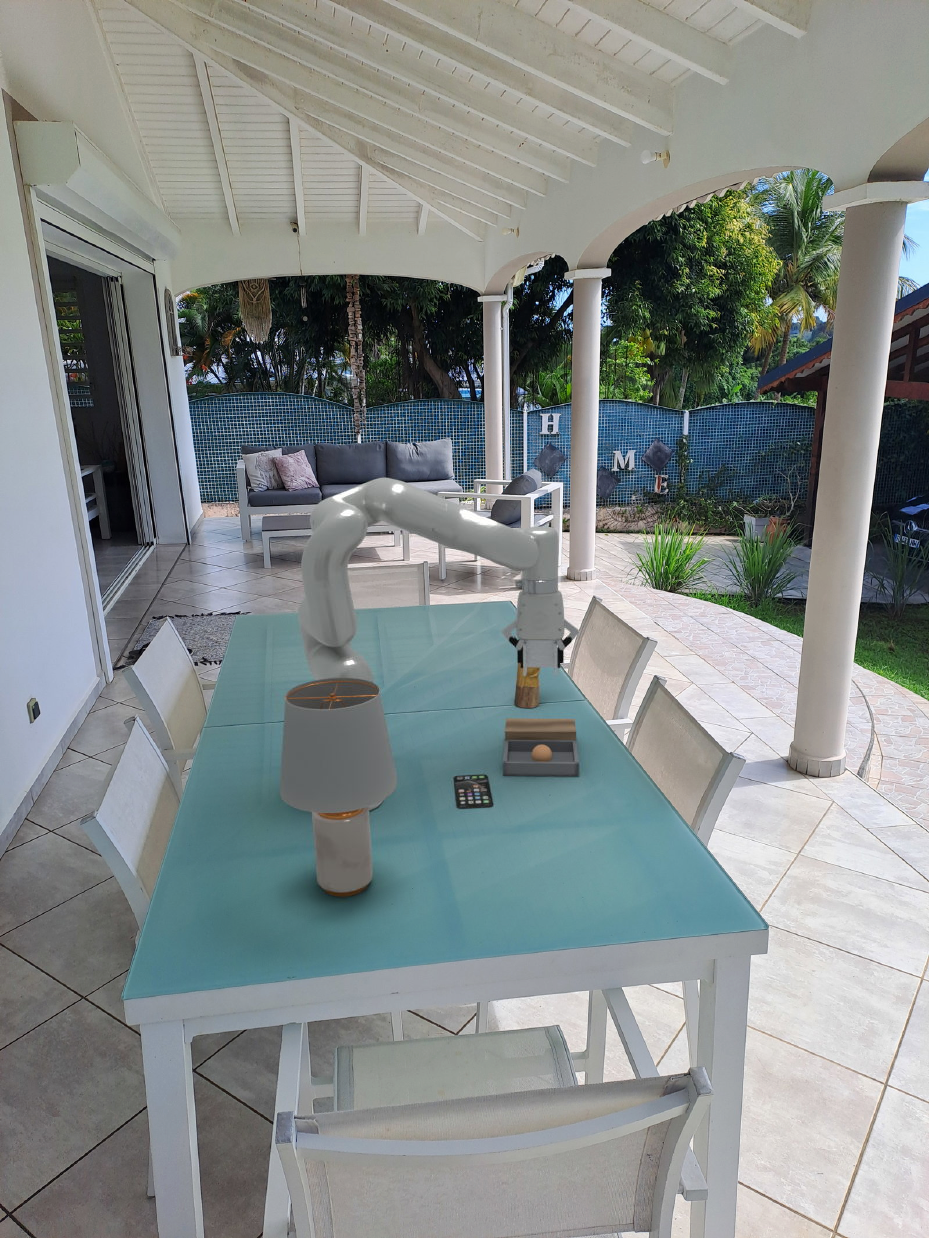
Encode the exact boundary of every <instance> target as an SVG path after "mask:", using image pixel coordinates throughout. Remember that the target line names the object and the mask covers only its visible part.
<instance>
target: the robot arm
mask: <svg viewBox="0 0 929 1238" xmlns="http://www.w3.org/2000/svg"><path fill="white" fill-rule="evenodd" d="M380 522H384V523H387V524H388V525H390V526H394V527H396V528H399V529H401V530H404V531H407V532H409V533H411V534H414V535H416V536H420V537H422V538H424V539H427V540H429V541H431V542H435V543H437V544H440V545H442V546H445V547H448V548H450V549H453V550H457V551H461V552H465V553H467V554H468V553H469V554H471V555H474V556H477V557H479V558H482V559H485V560H487V561H490V562H492V563H494V564H496V565H498V566H501V567H504V568H507V569H510V570H512V571H516V572H521V574H522V575H521V578H520V579H518V580H515V588H520V589H521V591H519V592H518V596H517V604H516V618H515V619H514V620H513V621H512V622H511V623H509V624H508V625H507V626H505V627H504V628H503V629H502V635H503V636H504V637H505V639H507V641H508V643H510V644H511V645H512V646H513V647H514V648H515V649H516V651H517V652H516V653H517V654H516V655H517V657H516V658H517V660H516V661H517V662H516V663H517V664H518V663H521V668H523V642H525V641H526V640H555V642H557V669H561V664H565V663H564V661H565V660H564V659H565V657H564V656H565V655H564V654H565V652H564V650H566V648H567V647H568V646H569V645H570V644H571V643H572V642H573V640H575V638H576V637H577V636H578V634H579V633H580V632H579V629H578V628H577V627H576V626H574V625H573V624H572V623H571V622H569V621H568V620H566V619H565V607H564V598H563V593H562V591H560V590H559V535H558V531H557V530H556V529H555V528H554V527H550V526H531V527H530V526H529V527H527V528H513V527H510V526H507V525H505V524H503V523H500V522H498V521H496V520H493V519H491V518H488V517H486V516H483V515H481V514H479V513H477V512H475V511H473V510H472V509H469V508H467V507H465V506H462V505H460V504H457V502H456V503H455V502H453V501H451V500H449V499H446V498H443V497H441V496H438V495H437V494H434V493H431V492H429V491H426V490H425V489H422V488H419V487H418V486H415V485H413V484H410V483H407V482H405V481H402V480H399V479H394V478H390V477H379V478H376V479H372V480H369V481H367V482H365V483H362V484H360V485H357V486H355V487H352V488H349V489H347V490H345V491H342V492H339V493H337V494H335V495H332V496H330V497H329V496H328V497H327V498H325V499H323V500H320V502H319V503H317V504H316V505H315V506H314V507H313V510H312V511H311V512H310V516H309V524H310V530H312V534H311V536H310V537H309V539H308V541H307V543H306V545H305V547H304V549H303V552H302V556H301V563H300V564H301V565H300V566H301V567H300V568H301V572H300V573H301V580H302V585H303V590H304V597H302V599H301V602H300V604H299V606H298V609H297V621H298V625H299V626H298V627H299V631H300V635H301V641H302V646H303V649H304V654H305V658H306V663H307V665H308V669H309V672H310V674H311V675H312V677H313V678H314V680H321V679H329V678H356V679H362V680H367V681H370V682H372V683H374V681H373V673H372V670H371V667H370V666H369V664H368V662H367V660H366V659H365V658H364V657H363V656H362V655H361V654H359V653H358V651H356V650H354V649H353V648H352V645H351V641H352V640H353V639H354V637H355V635H356V634H357V630H358V619H357V614H356V613H357V612H356V610H355V606H354V601H353V597H352V591H351V586H350V580H349V579H350V578H349V571H348V569H349V568H348V565H349V561H350V558H351V556H352V554H353V553H354V552H355V550H356V549H357V548H358V547H359V546H360V545H361V544H362V543H363V541H364V539H365V538H366V537H367V533H368V529H369V528H370V527H371V526H374V525H376V524H378V523H380ZM565 629H566V630H567V631H568V632H569V634H568V635H567V636H566V637H564V636H565ZM513 630H515V632H516V634H515V635H516V636H514V635H513V634H512V631H513ZM516 637H517V638H516ZM563 638H564V639H563ZM383 802H384V800H382V801H380V802H378V803H376V804H374V805H371V806H369V812H370V811H372V810H374V809H376V808H378V807H379V806H380V805H381V804H382V803H383Z"/></svg>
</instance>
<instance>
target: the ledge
mask: <svg viewBox="0 0 929 1238" xmlns="http://www.w3.org/2000/svg"><path fill="white" fill-rule="evenodd" d="M505 740H576V741H577V728H576V719H575V718H512V717H511V718H505V727H504V741H505Z"/></svg>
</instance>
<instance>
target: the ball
mask: <svg viewBox="0 0 929 1238" xmlns="http://www.w3.org/2000/svg"><path fill="white" fill-rule="evenodd" d="M551 758H552V752H551V750H550V748H549V747H548V746H546V745H538V746H536V747H535V748H534V749H533V751H532V759H533V761H534V762H550V760H551Z"/></svg>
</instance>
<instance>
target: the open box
mask: <svg viewBox="0 0 929 1238" xmlns="http://www.w3.org/2000/svg"><path fill="white" fill-rule="evenodd" d="M557 647H558V645H557V642H555V640H526V641H525V642H523V676H526V673H527V667H540V668H554V677H558V668H557Z"/></svg>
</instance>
